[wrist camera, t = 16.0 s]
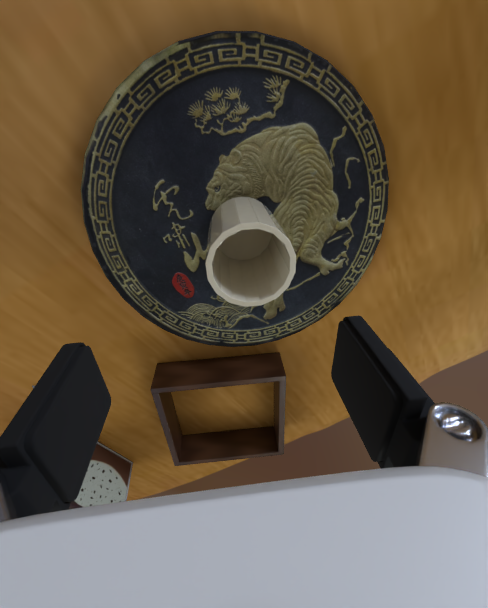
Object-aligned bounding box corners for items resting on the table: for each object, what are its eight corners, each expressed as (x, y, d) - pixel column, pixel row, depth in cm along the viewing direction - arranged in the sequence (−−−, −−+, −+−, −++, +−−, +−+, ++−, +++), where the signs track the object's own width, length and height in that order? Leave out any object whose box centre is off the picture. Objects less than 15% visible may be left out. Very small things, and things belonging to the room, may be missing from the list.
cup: (213, 264, 30) (211, 310, 22) (205, 199, 27) (200, 226, 19) (274, 259, 30) (294, 302, 23) (275, 194, 27) (297, 219, 19)
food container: (54, 447, 46) (17, 519, 38) (81, 432, 45) (49, 503, 36) (113, 479, 52) (93, 547, 43) (139, 466, 50) (123, 534, 42)
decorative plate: (168, 376, 37) (-5, 112, 22) (170, 365, 39) (10, 113, 24) (397, 305, 35) (382, -49, 19) (389, 298, 36) (369, -36, 21)
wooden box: (178, 438, 47) (174, 466, 43) (157, 363, 39) (150, 389, 35) (278, 428, 48) (283, 454, 44) (279, 352, 39) (286, 376, 36)
